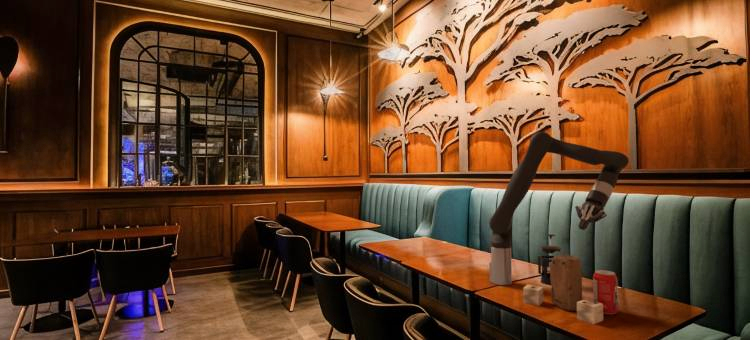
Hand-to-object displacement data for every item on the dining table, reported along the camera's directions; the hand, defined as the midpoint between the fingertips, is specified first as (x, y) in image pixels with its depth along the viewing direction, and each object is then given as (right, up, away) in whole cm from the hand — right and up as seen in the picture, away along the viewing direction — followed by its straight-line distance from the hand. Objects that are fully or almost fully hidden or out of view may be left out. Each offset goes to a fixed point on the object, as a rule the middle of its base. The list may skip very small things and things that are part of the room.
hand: (581, 228), depth 152 cm
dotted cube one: (-21, -30, -2) cm, 36 cm away
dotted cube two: (-8, -29, -20) cm, 37 cm away
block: (-11, -30, -8) cm, 32 cm away
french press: (-1, -30, +25) cm, 39 cm away
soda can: (+2, -29, -13) cm, 32 cm away
